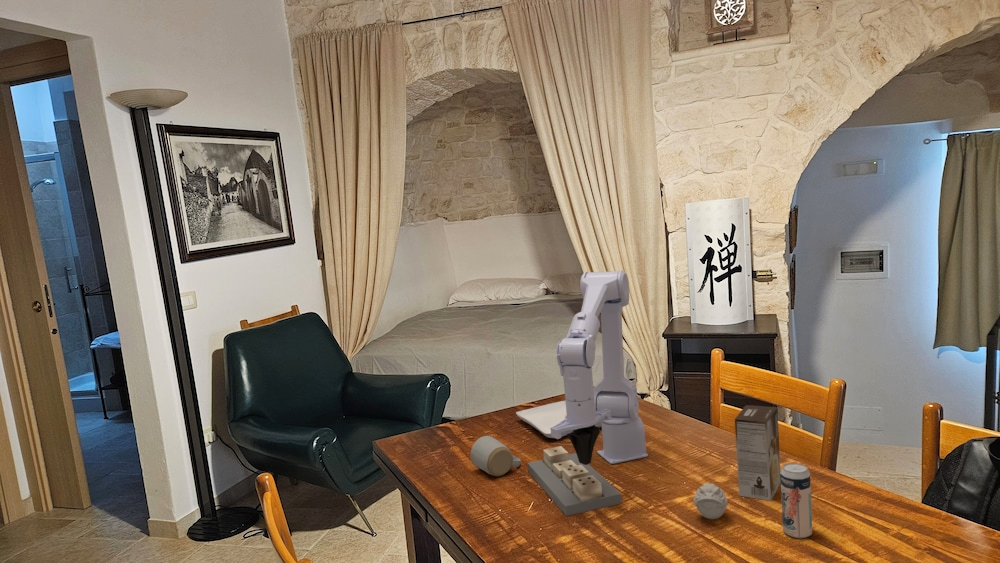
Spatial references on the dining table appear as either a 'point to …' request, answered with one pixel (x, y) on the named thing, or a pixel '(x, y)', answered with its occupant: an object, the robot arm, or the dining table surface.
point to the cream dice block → (559, 466)
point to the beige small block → (573, 475)
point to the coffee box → (758, 452)
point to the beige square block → (587, 488)
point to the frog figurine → (710, 501)
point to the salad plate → (546, 417)
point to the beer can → (796, 500)
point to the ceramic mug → (493, 456)
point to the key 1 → (555, 456)
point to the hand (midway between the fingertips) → (585, 462)
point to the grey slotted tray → (565, 496)
